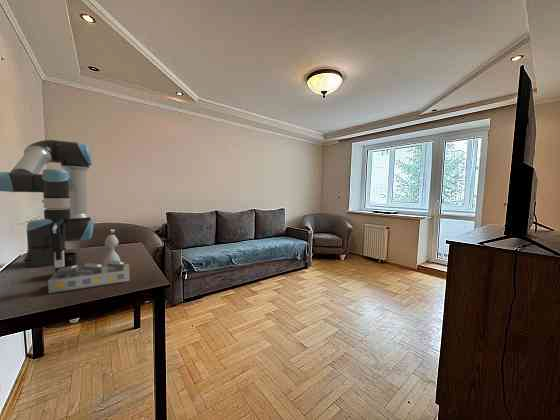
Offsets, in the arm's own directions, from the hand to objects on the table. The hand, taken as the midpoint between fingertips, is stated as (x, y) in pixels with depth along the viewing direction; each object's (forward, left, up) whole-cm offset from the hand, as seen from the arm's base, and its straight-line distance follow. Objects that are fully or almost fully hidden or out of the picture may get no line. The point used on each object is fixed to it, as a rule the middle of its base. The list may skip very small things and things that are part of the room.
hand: (59, 266), depth 94 cm
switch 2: (0, +11, -2) cm, 11 cm away
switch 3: (0, +19, -2) cm, 19 cm away
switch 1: (0, +3, -2) cm, 3 cm away
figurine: (-19, +17, -9) cm, 26 cm away
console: (0, +11, -9) cm, 14 cm away
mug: (-16, 0, -9) cm, 18 cm away
